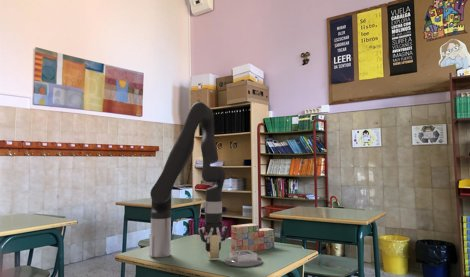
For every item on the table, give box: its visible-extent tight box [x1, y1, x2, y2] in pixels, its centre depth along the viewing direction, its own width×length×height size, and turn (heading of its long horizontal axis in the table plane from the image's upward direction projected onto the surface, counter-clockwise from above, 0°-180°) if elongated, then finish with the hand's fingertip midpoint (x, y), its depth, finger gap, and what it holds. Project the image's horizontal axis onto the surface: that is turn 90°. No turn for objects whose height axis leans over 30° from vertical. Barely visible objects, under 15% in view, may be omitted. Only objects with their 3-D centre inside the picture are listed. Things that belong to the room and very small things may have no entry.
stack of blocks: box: [230, 223, 275, 252], centre depth 183 cm, size 21×6×12 cm, turn 118°
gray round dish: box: [223, 250, 263, 268], centre depth 158 cm, size 16×16×4 cm
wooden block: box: [206, 234, 220, 260], centre depth 162 cm, size 4×4×10 cm
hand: (213, 251), depth 162 cm, fingers closed on wooden block, 4 cm apart
